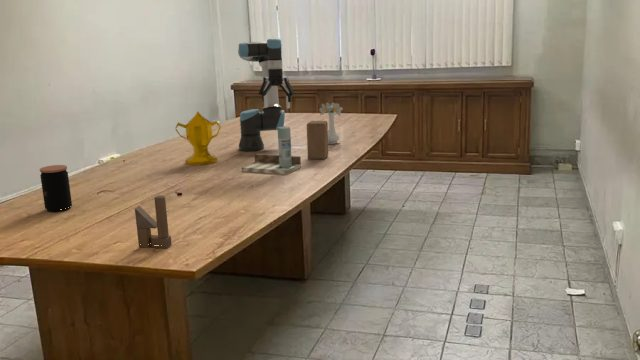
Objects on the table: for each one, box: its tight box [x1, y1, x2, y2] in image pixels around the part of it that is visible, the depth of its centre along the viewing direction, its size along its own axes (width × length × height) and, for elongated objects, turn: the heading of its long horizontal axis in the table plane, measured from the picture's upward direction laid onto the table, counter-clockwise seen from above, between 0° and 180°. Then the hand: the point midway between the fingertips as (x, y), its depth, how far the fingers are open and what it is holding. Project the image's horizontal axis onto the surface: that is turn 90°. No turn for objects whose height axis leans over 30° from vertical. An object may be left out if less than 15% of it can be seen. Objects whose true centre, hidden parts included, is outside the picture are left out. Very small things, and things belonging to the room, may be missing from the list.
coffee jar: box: [39, 164, 73, 213], centre depth 269 cm, size 11×11×18 cm
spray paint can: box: [277, 126, 292, 167], centre depth 325 cm, size 6×6×20 cm
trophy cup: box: [175, 111, 222, 166], centre depth 350 cm, size 18×24×28 cm
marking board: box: [241, 153, 302, 175], centre depth 330 cm, size 26×16×6 cm, turn 67°
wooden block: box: [306, 120, 329, 160], centre depth 353 cm, size 10×10×20 cm
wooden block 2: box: [134, 195, 172, 249], centre depth 219 cm, size 4×11×18 cm, turn 80°
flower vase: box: [318, 102, 344, 145], centre depth 393 cm, size 13×18×25 cm
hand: (277, 108), depth 346 cm, fingers open, 13 cm apart
